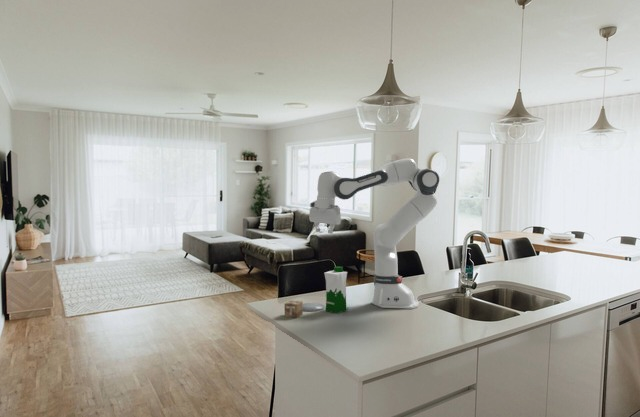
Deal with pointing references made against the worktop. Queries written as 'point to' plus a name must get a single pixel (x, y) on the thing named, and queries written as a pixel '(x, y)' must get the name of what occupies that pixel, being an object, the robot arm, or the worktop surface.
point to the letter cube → (293, 309)
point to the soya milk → (336, 290)
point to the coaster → (313, 307)
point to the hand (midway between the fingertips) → (323, 232)
